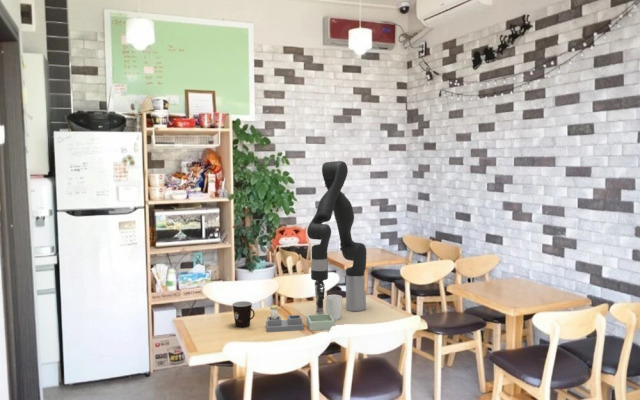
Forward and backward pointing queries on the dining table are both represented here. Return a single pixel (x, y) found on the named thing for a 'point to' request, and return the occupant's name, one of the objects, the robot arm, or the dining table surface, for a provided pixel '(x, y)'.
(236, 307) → the coffee mug
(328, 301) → the white cup
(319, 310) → the fuse
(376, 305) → the dining table surface
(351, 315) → the dining table surface
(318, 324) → the parts tray
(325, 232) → the robot arm
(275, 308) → the fuse
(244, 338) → the dining table surface
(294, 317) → the fuse block
